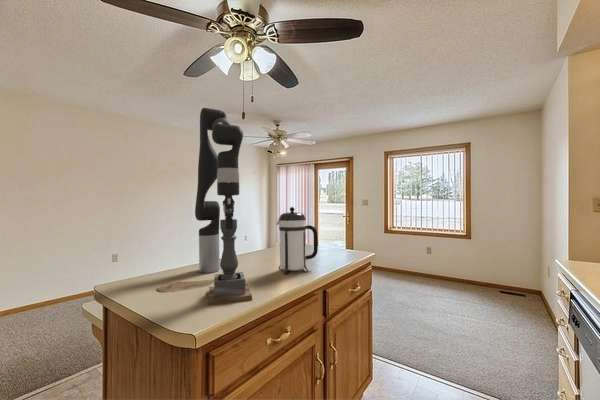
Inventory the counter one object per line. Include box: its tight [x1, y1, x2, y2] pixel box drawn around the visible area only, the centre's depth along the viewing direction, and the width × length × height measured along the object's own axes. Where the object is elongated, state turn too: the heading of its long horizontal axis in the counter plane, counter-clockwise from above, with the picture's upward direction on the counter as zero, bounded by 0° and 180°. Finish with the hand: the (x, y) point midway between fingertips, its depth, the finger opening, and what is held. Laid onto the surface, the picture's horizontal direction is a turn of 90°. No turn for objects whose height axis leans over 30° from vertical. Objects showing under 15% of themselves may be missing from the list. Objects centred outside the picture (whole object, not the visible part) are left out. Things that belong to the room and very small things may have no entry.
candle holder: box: [219, 218, 239, 280], centre depth 97 cm, size 6×6×25 cm
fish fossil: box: [156, 279, 214, 293], centre depth 109 cm, size 26×10×1 cm, turn 124°
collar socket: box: [207, 271, 253, 306], centre depth 96 cm, size 14×14×6 cm
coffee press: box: [275, 206, 319, 275], centre depth 130 cm, size 17×16×30 cm
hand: (228, 228), depth 96 cm, fingers open, 8 cm apart
